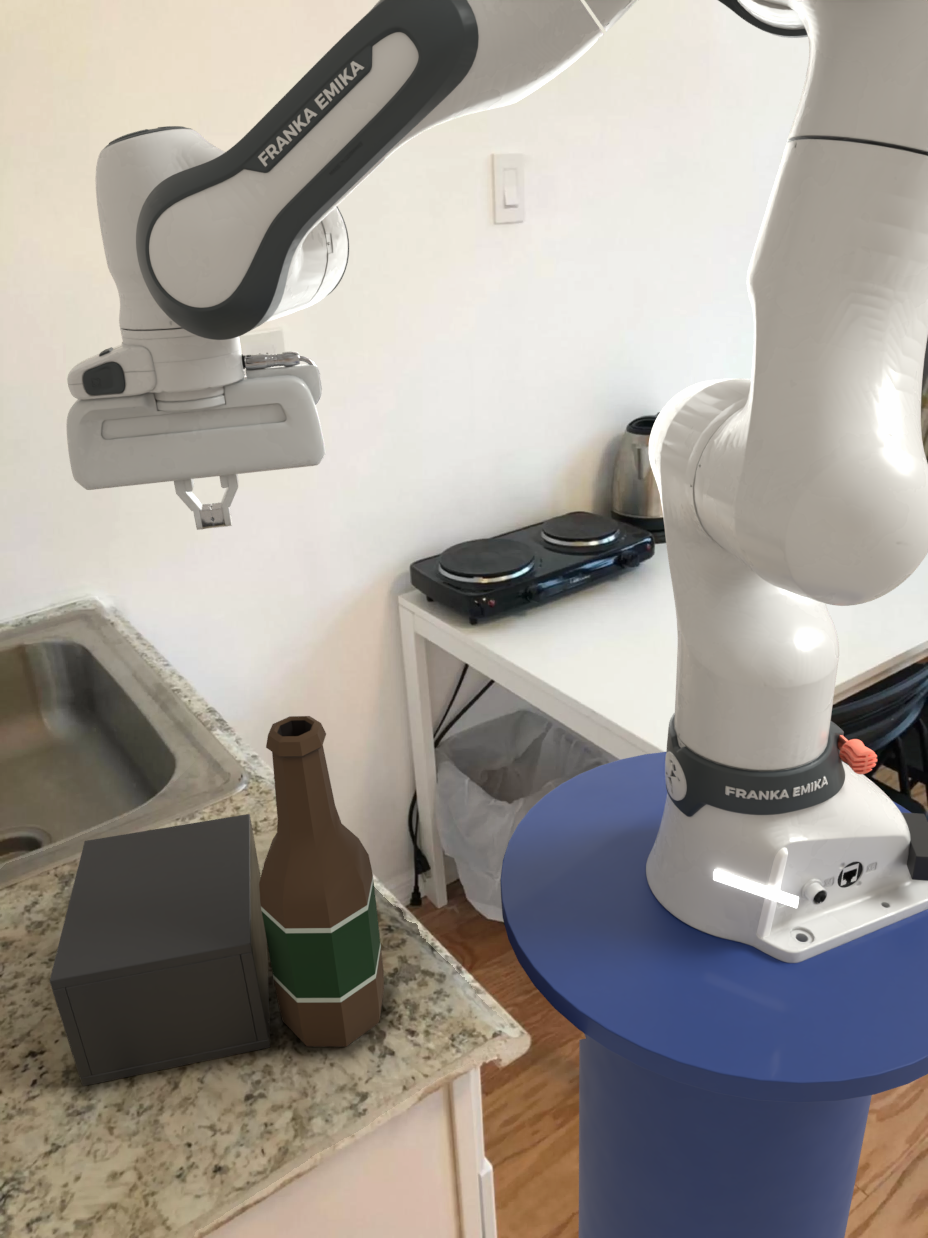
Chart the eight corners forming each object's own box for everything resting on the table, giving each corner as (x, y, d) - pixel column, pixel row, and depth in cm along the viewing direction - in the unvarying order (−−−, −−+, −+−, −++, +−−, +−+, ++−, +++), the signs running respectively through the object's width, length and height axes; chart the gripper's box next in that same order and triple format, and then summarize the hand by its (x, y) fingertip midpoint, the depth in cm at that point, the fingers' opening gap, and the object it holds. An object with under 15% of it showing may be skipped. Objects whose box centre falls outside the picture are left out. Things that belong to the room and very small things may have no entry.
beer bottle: (406, 986, 70) (379, 707, 60) (353, 1068, 63) (312, 772, 53) (318, 957, 73) (278, 687, 63) (259, 1032, 66) (204, 746, 56)
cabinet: (109, 935, 76) (84, 840, 72) (266, 907, 78) (249, 813, 74) (82, 1087, 63) (49, 981, 59) (270, 1048, 65) (250, 943, 61)
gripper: (314, 343, 78) (333, 501, 84) (59, 365, 75) (97, 528, 81) (319, 354, 73) (339, 523, 78) (44, 378, 69) (86, 553, 75)
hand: (214, 526), depth 80 cm, fingers closed
